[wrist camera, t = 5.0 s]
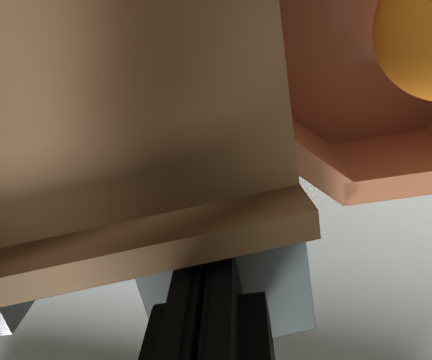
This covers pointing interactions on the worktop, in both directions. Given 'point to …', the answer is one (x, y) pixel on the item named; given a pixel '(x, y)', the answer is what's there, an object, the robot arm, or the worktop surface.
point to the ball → (405, 44)
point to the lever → (150, 150)
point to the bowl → (351, 107)
